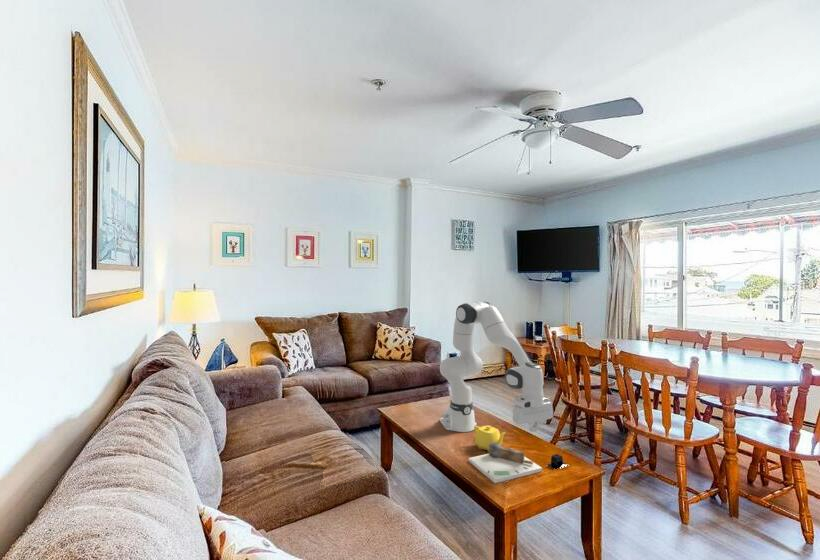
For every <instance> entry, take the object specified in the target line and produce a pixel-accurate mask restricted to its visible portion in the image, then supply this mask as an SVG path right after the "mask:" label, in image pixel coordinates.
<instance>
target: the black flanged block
mask: <svg viewBox="0 0 820 560" xmlns="http://www.w3.org/2000/svg"><path fill="white" fill-rule="evenodd" d="M546 464H547V465H548V466H549V467H548V466H547V467H548V468H550V467H551V468H550V469H552V468H553V469H554V468H555V469H557V468H560V469H562V468H565V467H567V465H568V466H569V464H568V463H566V462H565V461H564V458H563V455H561V454H558V453H555V454H552V455H551V458H550V462H549V463H546ZM564 466H565V467H564ZM561 467H562V468H561ZM553 469H552V470H553ZM557 470H558V469H557Z"/></svg>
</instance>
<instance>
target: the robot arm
mask: <svg viewBox="0 0 820 560" xmlns="http://www.w3.org/2000/svg"><path fill="white" fill-rule="evenodd" d="M476 324H480V325H481V328H482V329H483V332H484V334H485V336H486V338H487V340H488V341H489V342H490V343H491V344H492V345H494V346H498V347H500V348H503V349H506V350H508V351H509V352H510V353H511V354H512V356H513V357H514V359H515V361H516V362H517V364H518V366H515V367H511V368H509V369H507V370H505V371H506V372H505V374H504V381H505V383H506V385H507V387H509V388H510V389H513V390H522V394H521V395H520V396H518V397H516V398H514V399H513V402H512V403H513V405H514V406H513V408H512V422H513V423H515V424H516V425H518V426H519V425H524V424H525V425H526V424H527V425H528V427H529V432H531V433H533V432H538V427H539V425H540V422H541V421H545V420H551V419H553V417H554V407H553V403H552V402H553V401H552V399H551V398H550V397H544V391H543V387H544V371H543V369H542V366H541V365H539V364H538V363H536V362H533V361H532V360H531V358H530V357H529V355H528V354H527V352H526V350H525V348H524V347H523V345H522V344H521V341H519V339H518V338H517V337H516V336H515V335H514V334H513V333H512V332H511V330H510V329H509V326H507V324H506V322H505V320H504V318H503V316H502V315H501V313H500V311H499V310H498V309H497V307H495V306H494V305H493V304H492V303H490V302H489V301H488V302H487V301H473V302H467V303H466V302H465V303H462V304H460V305H458V306H457V308H456V311H455V319H454V323H453V333H452V335H453V336H452V345H453V347H454V349H456V350H458V351H459V353H460V354H459V356H452V357H448V358H445V359H443V360H441V362H440V364H439V371H440V374H441V376H443V378H445V379H446V380H447V381H448V383H449V386H450V391H451V393H450V394H451V399H450V400H449V407H447V408H445V410H444V411H443V415H442V417H440V418H439V422H440V423H441V425H442V426H443V427H444V428H445V430H446V431H453V432H458V433H468V432H472V431H475V430H474V426H478V425H477V422H476V418H475V411H474V409H473V406H474V404H473V400H472V399H473V397H472V396H473V395H472V394H473V393H472V392H473V390H472V387H471V385H470V384H469V383H466V382H465V380H464V377H470V376H474V375H475V376H476V375H478V374H480V373H481V372H482V371H483V367H484V363H483V360H482V359H481V357H480V356H479V355H477V353H476V351H475V346H474V342H475V341H474V340H475V338H474V335H475V325H476Z"/></svg>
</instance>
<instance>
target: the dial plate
mask: <svg viewBox="0 0 820 560" xmlns="http://www.w3.org/2000/svg"><path fill="white" fill-rule="evenodd" d="M524 460H528V461H532V460H531V459H529V458H528V457H526V456H525V455H524ZM468 462H469V463H470V464H471V465H472V466H474V467H475V469H477V470H479V471H480V472H481V473H482V474H483V475H484V476H486V477H487V478H488V479H489V480H490V481H492V482H493V483H494V484H498V483H502V482H505V481H506V482H507V481H510V480H513V479H517V478H521V477H526V476H529V475H533V474H537V473H541V472H543V467H541V466H540V465H539V464H537V463H536V462H534V461H532V462H533V465H531V464H527V463H520V462H516V461H512V460H508V459H504V458H500V457H492V456H490V455H489V453H486V454H481V455H477V456H472V457H468Z"/></svg>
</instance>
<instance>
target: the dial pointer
mask: <svg viewBox="0 0 820 560" xmlns="http://www.w3.org/2000/svg"><path fill="white" fill-rule="evenodd" d="M488 454H489V455H490V456H492V457H500V458H504V459H508V460H512V461H516V462H520V463H527V464H531V465H533V462H534V461H532V460H531V461H528V460H524V456H525V451H522V450H518V449H515V448H511V447H505V446H503V445H502V444H501V445H500V444H499V443H490V444H489V452H488Z"/></svg>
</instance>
